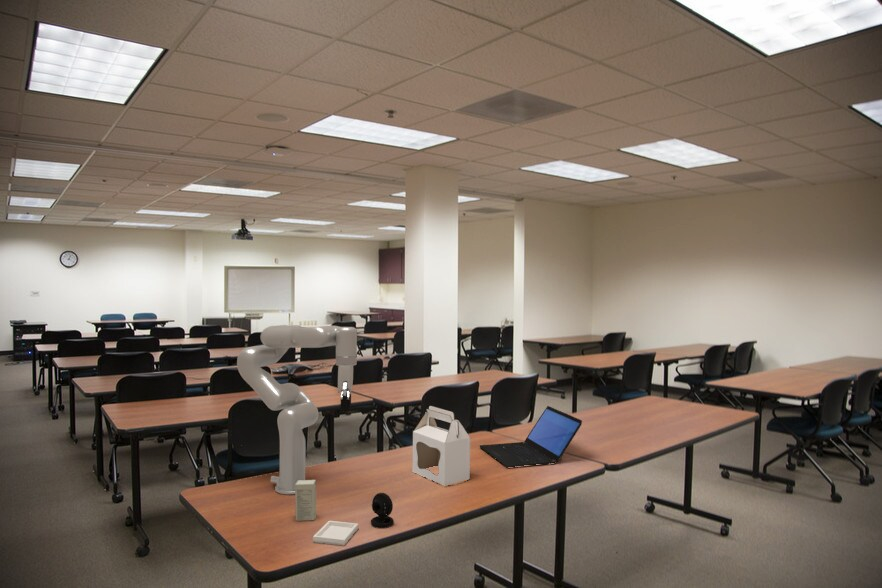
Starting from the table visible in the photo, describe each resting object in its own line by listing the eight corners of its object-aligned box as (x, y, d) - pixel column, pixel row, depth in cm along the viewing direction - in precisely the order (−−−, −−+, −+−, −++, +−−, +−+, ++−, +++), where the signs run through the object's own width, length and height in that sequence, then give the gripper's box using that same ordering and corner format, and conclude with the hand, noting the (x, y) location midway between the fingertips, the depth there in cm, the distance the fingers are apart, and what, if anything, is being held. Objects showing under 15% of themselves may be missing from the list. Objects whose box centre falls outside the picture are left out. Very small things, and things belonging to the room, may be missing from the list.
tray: (312, 542, 167) (313, 536, 167) (328, 526, 179) (329, 520, 179) (344, 546, 165) (344, 540, 165) (358, 529, 177) (358, 523, 177)
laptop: (478, 448, 271) (479, 409, 271) (547, 443, 283) (548, 405, 282) (506, 470, 240) (507, 425, 240) (583, 463, 251) (583, 420, 251)
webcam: (365, 524, 181) (365, 493, 181) (380, 517, 187) (380, 487, 187) (384, 530, 176) (384, 499, 176) (398, 522, 183) (399, 492, 183)
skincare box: (316, 515, 187) (317, 479, 187) (314, 521, 183) (314, 483, 183) (297, 515, 187) (297, 479, 187) (294, 521, 183) (294, 483, 183)
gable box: (411, 472, 233) (412, 406, 233) (436, 466, 242) (437, 402, 242) (444, 487, 216) (445, 415, 216) (470, 480, 224) (471, 411, 224)
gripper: (337, 358, 211) (337, 403, 211) (333, 363, 194) (333, 412, 194) (357, 357, 212) (357, 402, 212) (355, 363, 195) (355, 412, 195)
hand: (345, 407), depth 203 cm, fingers open, 9 cm apart
